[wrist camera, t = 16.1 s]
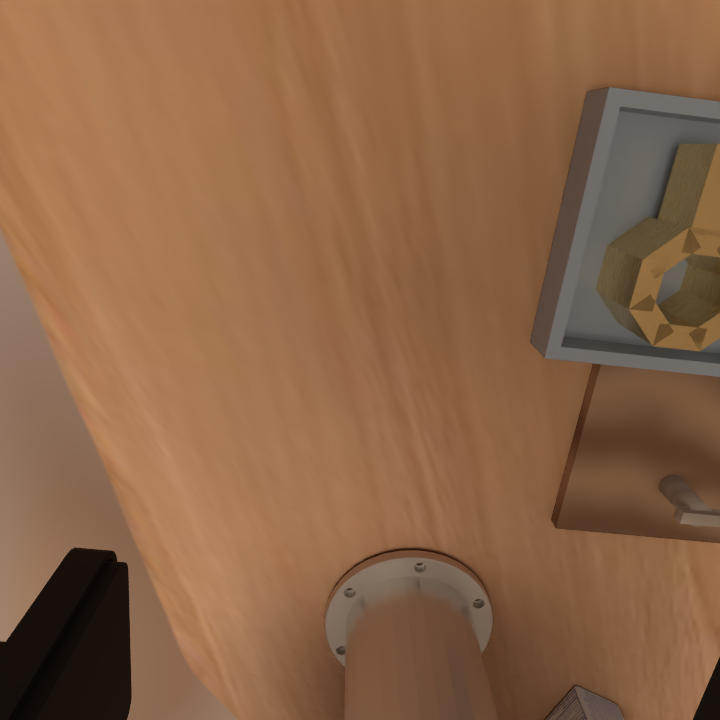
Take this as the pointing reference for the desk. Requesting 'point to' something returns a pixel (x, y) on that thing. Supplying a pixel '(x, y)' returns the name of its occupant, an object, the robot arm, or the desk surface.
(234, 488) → the desk surface
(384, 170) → the desk surface
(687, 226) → the ring
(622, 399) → the board
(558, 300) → the tray
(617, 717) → the medicine box
